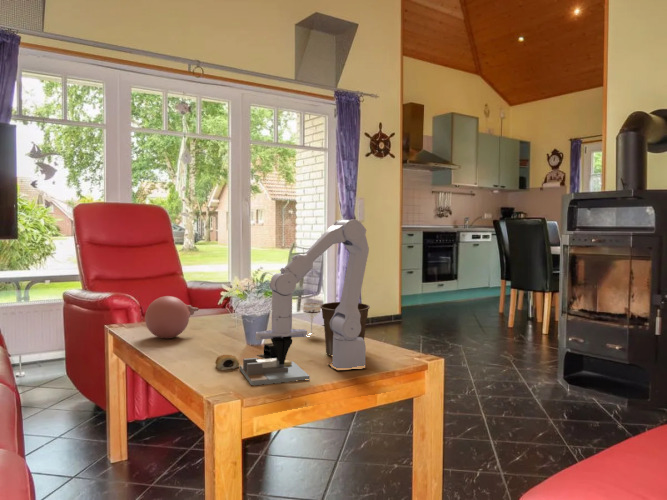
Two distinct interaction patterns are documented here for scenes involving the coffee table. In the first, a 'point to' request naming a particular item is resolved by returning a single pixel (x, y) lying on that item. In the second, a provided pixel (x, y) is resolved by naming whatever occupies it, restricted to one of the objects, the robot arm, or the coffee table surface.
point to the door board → (271, 372)
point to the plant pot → (328, 313)
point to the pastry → (227, 362)
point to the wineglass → (311, 311)
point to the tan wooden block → (269, 363)
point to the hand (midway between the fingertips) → (281, 363)
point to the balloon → (168, 316)
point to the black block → (268, 351)
